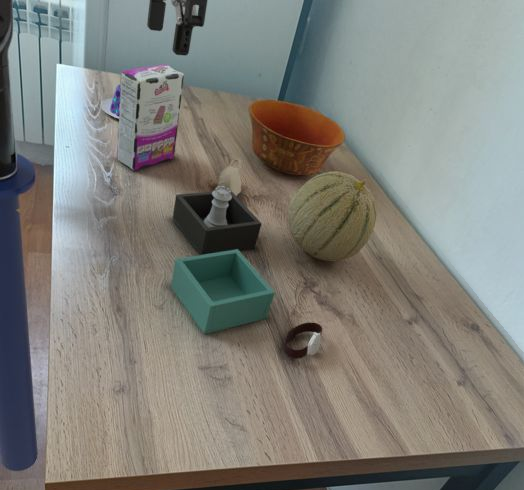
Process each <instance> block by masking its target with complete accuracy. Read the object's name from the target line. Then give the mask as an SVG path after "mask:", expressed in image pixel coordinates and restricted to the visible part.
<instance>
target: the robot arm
mask: <svg viewBox="0 0 524 490" xmlns="http://www.w3.org/2000/svg"><path fill="white" fill-rule="evenodd" d="M166 1H167V0H149V4H148V12H147V13H148V14H147V23H146V26H147V28H148V29H149V30H151V31H154V32H155V31H156V32H161V31H162V30H164V29H163V28H164V22H165V14H166V8H167V7H166V6H167V3H166ZM170 2H171V5H172V6H173V7H174V9H175V17H176V23H175V29H174V35H173V42H172V47H171V49H172V52H173V53H174V54H175V55H177V56H188V55H189V53H190V48H191V43H192V37H193V36H192V35H193V29H194V28H195V27H199V28H203V27H204V25H205V21H206V15H207V14H206V13H207V6H208V0H170ZM197 6H198V9H197ZM13 9H14V7H13V0H0V182H1V181H5V180H8V179H10V178H12V177H14V176H15V175H16V173H17V171H18V168H17V154H18V149H17V146H16V138H15V125H14V111H13V99H12V84H11V83H12V82H11V73H10V56H9V51H10V48H11V44H12V40H13V35H14V10H13Z"/></svg>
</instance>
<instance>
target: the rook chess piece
mask: <svg viewBox="0 0 524 490" xmlns="http://www.w3.org/2000/svg"><path fill="white" fill-rule="evenodd" d="M229 190H230V189H229V188H227V189H226V190H225V186H222V188H220V186H218V185H217V186H216V187H215V189H214V190H212V191H213V192H212V195H213V197H214V199H213V200H212V204H213V205H212V208H211V211H210V213H209V215H208V216H207V217H206V218H205V219H204V221H203V222H204V223H205V224H206V226H207V227H208V228H209V227H216V226H224V225H228V224H227V220H226V209H227V207H228V206H229V204H228V201H229V200H231V199H232V196H231V194H230V193H231V191H229Z"/></svg>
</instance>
